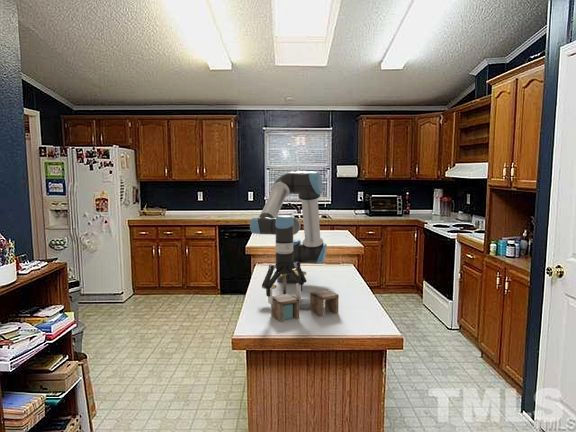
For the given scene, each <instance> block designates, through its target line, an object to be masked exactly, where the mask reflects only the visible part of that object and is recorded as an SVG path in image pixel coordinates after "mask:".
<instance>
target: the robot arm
mask: <svg viewBox="0 0 576 432" xmlns="http://www.w3.org/2000/svg"><path fill="white" fill-rule="evenodd" d="M323 192H324V183H323V177H322V175H321V174H320V172H318V171H290V172H286V173H284V174H282V175H281V176H280V177H278V178H277V179H276V180H275V181H274V182H273V184H272V186H271V192H270V195H269V197H268V198H267V201H266V202H265V205H264V207H263V209H262V210H261V212H260V214H259V216H258V217H257V216H256V217H252V218H251V220H250V222H249V229H250V232H251V233H252V234H256V235H274V236H275V264H274V265H273V264H269V265H268V270H267V272H266V275H265V277H264V279H263V282H262V284H261V288H262V287H264V288H266V289H265V290H266V291H265V293H266V297H267V304H269V305H271V304H272V296H273V289H271V287H272V286H273V284H275V283H276V281H277V282H280V283H282V284H283V276H282V277H280V278H278V277H279V276H280V275H281V274H282V275H284V274H287V275H286V284H296V293H295V294H296V296H295V297H297V298H298V299H299V300H301V299H302V292H303V285H304V284H306V283H307V278H306V275H304V274H303V272H302V271H303V270H302V268H301V264H312V265H313V264H314V265H317V264H319V265H321V264H323V263H325V260H326V257H327V256H326V254H327V249H328V248H327V246H328V245H327V243H325V242H324V240H323V238H322V237H321V230H320V217H319V216H320V215H319V201H318V199H320V198H321V195H322V194H323ZM289 195H298V199H299V200H300V201H301V209H302V219H303V220H302V221H303V230H304V231H303V234H304V239H303V240H302V242H301V240H300V239H294V235H296V234H298V232H300V230H301V227H302V226H301V222H300V220H299V219H298V218H296V217H293V216H292V215H279V213H280V210H281V208H282V206H283V204H284V201H285V200H286V198H287V197H288V196H289ZM295 268H296V271H297V272H298V274H299V276H297V275H296V274H295V272H294V271H293V270H292V269H295ZM273 273H274V274H273ZM277 278H278V279H277Z"/></svg>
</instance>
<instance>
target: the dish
mask: <svg viewBox="0 0 576 432" xmlns="http://www.w3.org/2000/svg"><path fill="white" fill-rule="evenodd" d="M299 310H307V311H308V310H310V298H301V300H299Z"/></svg>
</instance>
